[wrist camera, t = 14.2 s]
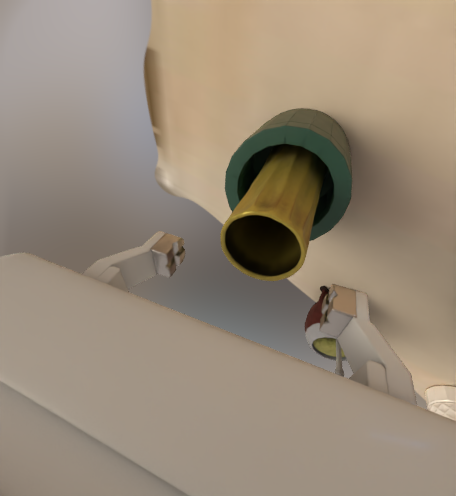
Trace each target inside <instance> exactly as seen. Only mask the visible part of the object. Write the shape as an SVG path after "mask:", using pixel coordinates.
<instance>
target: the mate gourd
mask: <svg viewBox="0 0 456 496" xmlns="http://www.w3.org/2000/svg"><path fill="white" fill-rule="evenodd" d="M320 290H321V291H322V294H321V296H320V298H319V301H318V302H317V303H315V305H313V307H312V308H311V309H310V311H309V313H308V315H307V319H306V322H305V335H306V338H307V341H308V343H309V345H310V347H311V348H312V349H313V350H314V351H315V352H316V353H317V354H318V355H320V356H322V357H324V358H327V359H330V360H335V361H336V369H335V374H337V375H340V376H342V377H344V371H343V369H342V361H347V358H346V356H345V354H344V352H343V350H342V348H341V346H340V344H339V342H338V339H337V338H336V337H334V336H331V335H328V334H326V333H323V332H321V331H319V329H320V319H321V318H322V316H323V314H322V313H321V309H322V304H323V301H324V298H325V296H326V294H328V293H329V290H328V289H327V287H326V286H322V287H320Z"/></svg>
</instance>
